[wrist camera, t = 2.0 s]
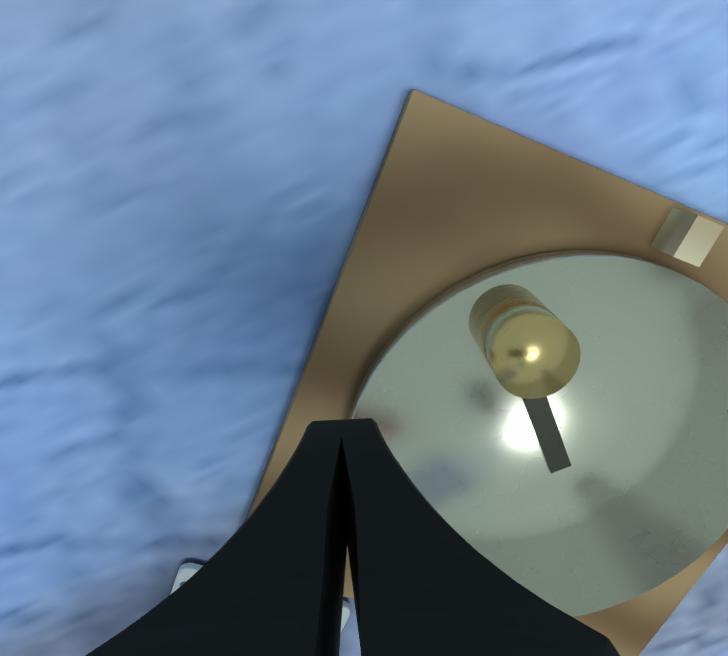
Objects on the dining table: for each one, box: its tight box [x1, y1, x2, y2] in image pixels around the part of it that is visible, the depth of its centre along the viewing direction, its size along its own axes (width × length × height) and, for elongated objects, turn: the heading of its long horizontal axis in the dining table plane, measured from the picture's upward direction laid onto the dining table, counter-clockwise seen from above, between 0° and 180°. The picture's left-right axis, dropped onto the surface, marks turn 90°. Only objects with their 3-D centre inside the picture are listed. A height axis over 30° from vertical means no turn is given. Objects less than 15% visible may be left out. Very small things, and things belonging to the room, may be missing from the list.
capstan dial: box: [349, 250, 728, 617], centre depth 19 cm, size 16×16×4 cm
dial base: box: [245, 89, 728, 656], centre depth 22 cm, size 20×20×2 cm
